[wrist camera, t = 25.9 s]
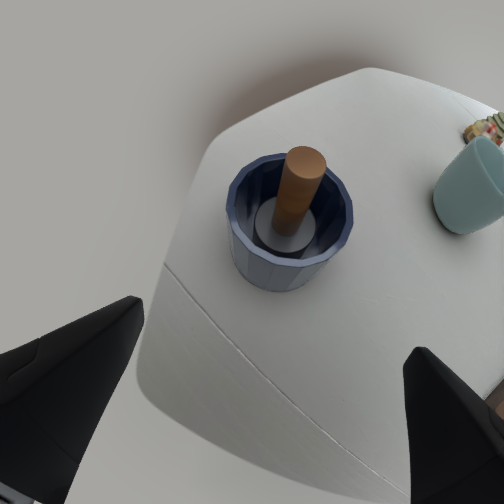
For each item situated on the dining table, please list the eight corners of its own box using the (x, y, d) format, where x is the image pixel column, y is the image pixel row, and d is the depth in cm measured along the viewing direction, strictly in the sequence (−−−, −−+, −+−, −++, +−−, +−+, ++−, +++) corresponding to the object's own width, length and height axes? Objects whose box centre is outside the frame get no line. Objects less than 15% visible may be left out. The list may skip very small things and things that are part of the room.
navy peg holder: (298, 308, 21) (324, 291, 14) (214, 263, 22) (201, 226, 15) (334, 231, 24) (367, 187, 17) (258, 192, 25) (264, 137, 18)
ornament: (481, 167, 29) (516, 131, 19) (457, 136, 30) (488, 97, 21) (493, 155, 30) (523, 123, 21) (471, 128, 32) (499, 94, 22)
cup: (438, 247, 24) (500, 205, 14) (414, 183, 26) (461, 129, 17) (476, 239, 24) (530, 204, 15) (454, 183, 27) (498, 139, 17)
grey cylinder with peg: (314, 251, 22) (367, 178, 12) (270, 278, 22) (296, 217, 11) (285, 210, 24) (313, 119, 13) (242, 234, 23) (242, 147, 12)
